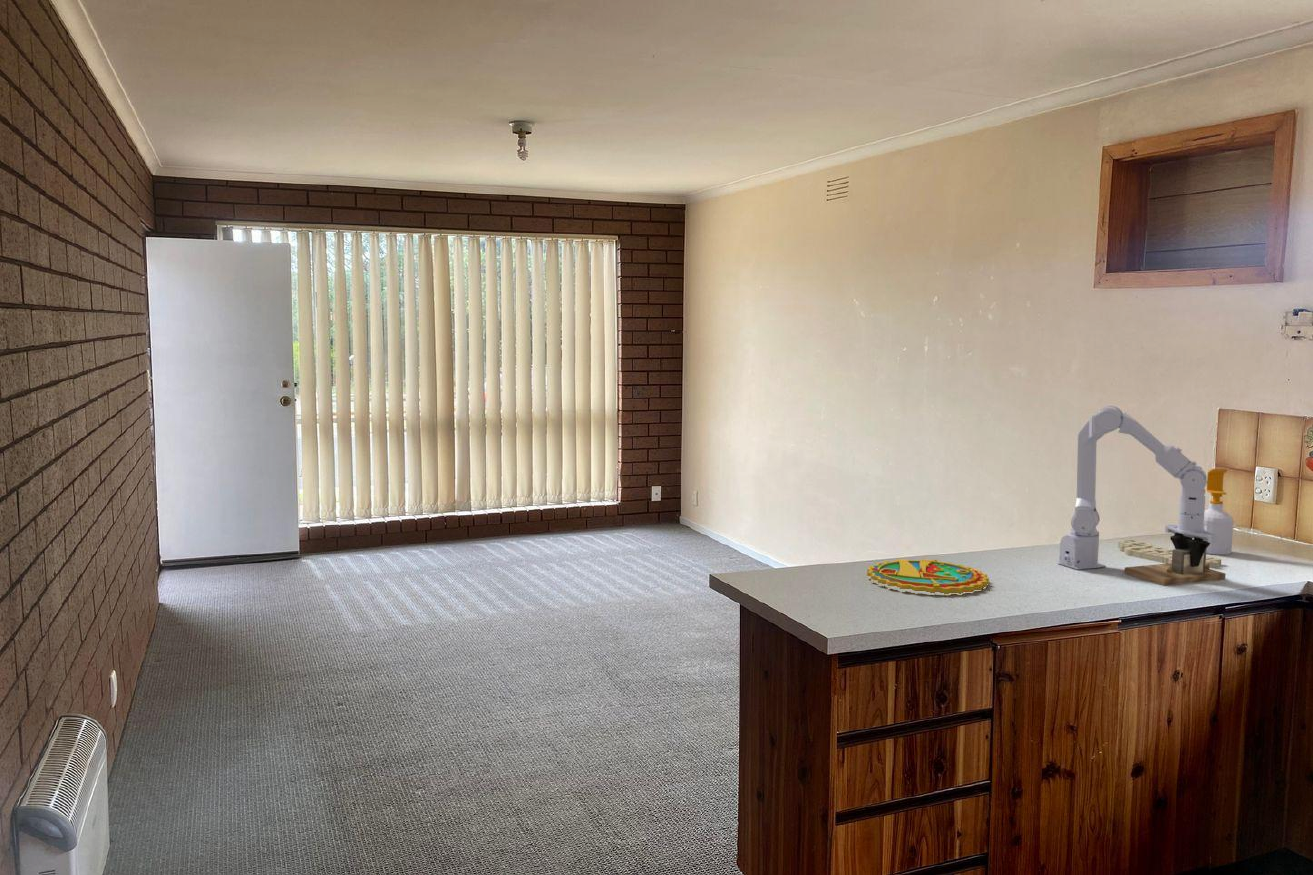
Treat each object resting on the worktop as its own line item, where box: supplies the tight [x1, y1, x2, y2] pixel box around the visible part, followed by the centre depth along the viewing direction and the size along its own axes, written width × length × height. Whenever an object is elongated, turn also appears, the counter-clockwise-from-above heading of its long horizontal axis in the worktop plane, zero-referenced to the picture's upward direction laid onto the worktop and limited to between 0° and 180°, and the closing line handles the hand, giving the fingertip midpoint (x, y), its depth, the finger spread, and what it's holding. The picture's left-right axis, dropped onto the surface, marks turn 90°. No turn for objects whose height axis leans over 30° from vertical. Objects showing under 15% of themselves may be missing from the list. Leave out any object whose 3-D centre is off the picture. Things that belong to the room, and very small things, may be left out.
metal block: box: [1172, 548, 1207, 574], centre depth 248 cm, size 8×3×7 cm, turn 107°
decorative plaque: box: [866, 558, 990, 594], centre depth 245 cm, size 30×3×30 cm
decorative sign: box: [1117, 539, 1222, 570], centre depth 271 cm, size 31×2×15 cm
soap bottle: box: [1204, 468, 1234, 556], centre depth 276 cm, size 9×9×25 cm
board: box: [1123, 563, 1226, 586], centre depth 249 cm, size 20×13×3 cm, turn 107°
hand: (1188, 564), depth 248 cm, fingers closed on metal block, 3 cm apart
